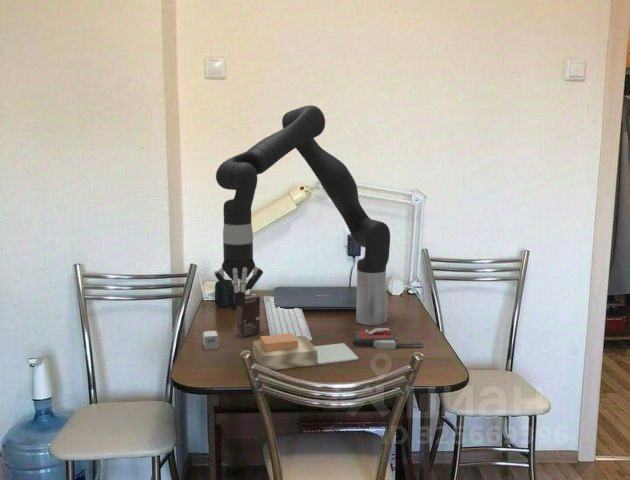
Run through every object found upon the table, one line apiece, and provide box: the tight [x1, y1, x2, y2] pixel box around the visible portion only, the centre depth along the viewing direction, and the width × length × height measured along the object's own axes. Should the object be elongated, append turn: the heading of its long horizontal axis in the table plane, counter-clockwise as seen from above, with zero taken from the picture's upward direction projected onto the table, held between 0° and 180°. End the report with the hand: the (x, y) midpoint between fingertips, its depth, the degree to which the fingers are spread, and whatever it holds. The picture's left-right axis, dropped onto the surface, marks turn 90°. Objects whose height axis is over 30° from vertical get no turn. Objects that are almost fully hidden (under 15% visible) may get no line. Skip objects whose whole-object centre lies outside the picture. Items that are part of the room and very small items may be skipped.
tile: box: [259, 333, 298, 352], centre depth 163 cm, size 9×6×2 cm, turn 107°
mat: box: [313, 342, 360, 365], centre depth 168 cm, size 12×12×1 cm
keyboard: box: [263, 295, 313, 342], centre depth 198 cm, size 44×12×2 cm, turn 7°
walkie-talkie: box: [352, 327, 423, 350], centre depth 176 cm, size 9×4×20 cm
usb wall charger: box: [202, 330, 220, 351], centre depth 174 cm, size 4×7×4 cm, turn 15°
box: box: [236, 293, 261, 338], centre depth 183 cm, size 6×4×12 cm
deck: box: [252, 336, 318, 371], centre depth 164 cm, size 15×12×4 cm
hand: (239, 305), depth 157 cm, fingers closed
